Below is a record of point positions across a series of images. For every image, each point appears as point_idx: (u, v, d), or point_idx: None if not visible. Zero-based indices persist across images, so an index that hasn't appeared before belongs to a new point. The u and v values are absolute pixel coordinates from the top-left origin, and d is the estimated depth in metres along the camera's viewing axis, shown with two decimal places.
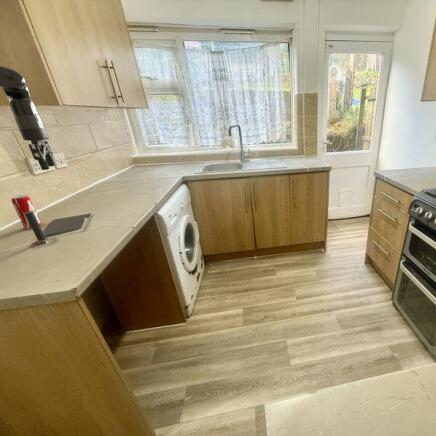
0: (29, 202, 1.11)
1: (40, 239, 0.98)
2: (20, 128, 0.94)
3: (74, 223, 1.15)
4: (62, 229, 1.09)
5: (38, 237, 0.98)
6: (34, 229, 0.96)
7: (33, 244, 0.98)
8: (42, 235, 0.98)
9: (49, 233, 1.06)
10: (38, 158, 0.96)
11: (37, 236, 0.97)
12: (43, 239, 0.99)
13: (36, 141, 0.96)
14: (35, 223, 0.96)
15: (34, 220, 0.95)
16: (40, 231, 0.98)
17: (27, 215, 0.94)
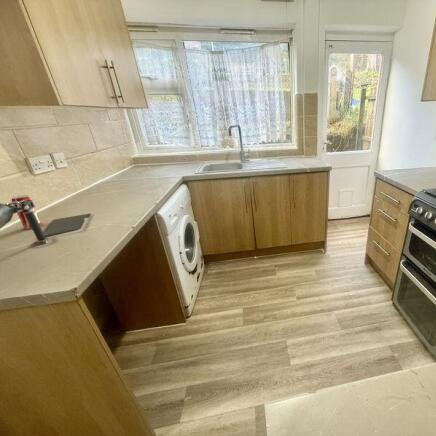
0: None
1: (40, 239, 0.98)
2: None
3: (74, 223, 1.15)
4: (62, 229, 1.09)
5: (38, 237, 0.98)
6: (34, 229, 0.96)
7: (33, 244, 0.98)
8: (42, 235, 0.98)
9: (49, 233, 1.06)
10: None
11: (37, 236, 0.97)
12: (43, 239, 0.99)
13: None
14: (35, 223, 0.96)
15: (34, 220, 0.95)
16: (40, 231, 0.98)
17: (27, 215, 0.94)
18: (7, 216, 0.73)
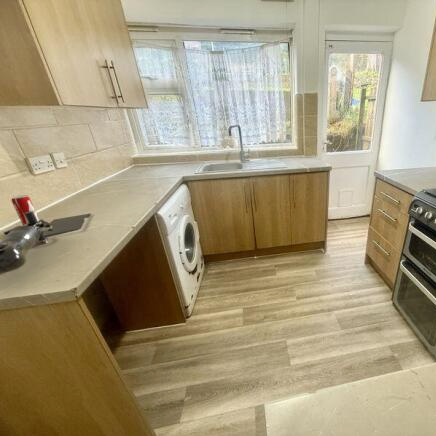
0: (29, 202, 1.11)
1: (40, 239, 0.98)
2: (7, 235, 0.83)
3: (74, 223, 1.15)
4: (62, 229, 1.09)
5: None
6: None
7: None
8: (42, 235, 0.98)
9: (49, 233, 1.06)
10: None
11: None
12: (43, 239, 0.99)
13: None
14: (35, 223, 0.96)
15: (34, 220, 0.95)
16: None
17: (27, 215, 0.94)
18: (36, 237, 0.88)
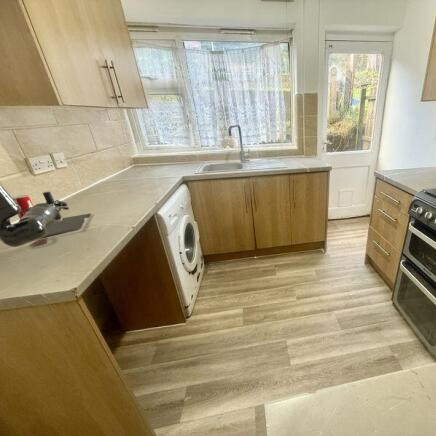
0: (29, 202, 1.11)
1: (56, 218, 1.05)
2: None
3: (74, 223, 1.15)
4: (62, 229, 1.09)
5: None
6: None
7: (33, 244, 0.98)
8: (58, 214, 1.05)
9: (49, 233, 1.06)
10: None
11: None
12: (59, 218, 1.05)
13: None
14: None
15: (51, 200, 1.02)
16: None
17: (45, 195, 1.00)
18: (54, 214, 0.94)
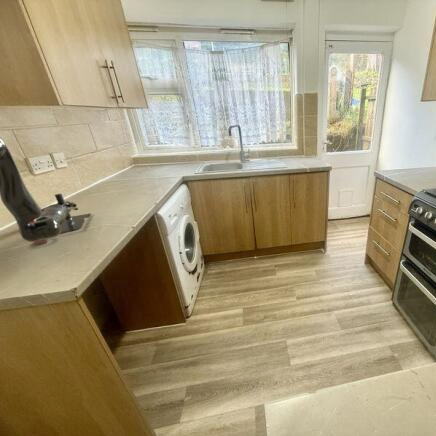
0: None
1: (67, 217, 1.16)
2: None
3: (74, 223, 1.15)
4: (62, 229, 1.09)
5: None
6: None
7: (33, 244, 0.98)
8: (68, 214, 1.16)
9: None
10: None
11: None
12: (69, 217, 1.16)
13: None
14: None
15: (62, 201, 1.13)
16: None
17: (57, 196, 1.11)
18: (66, 214, 1.05)
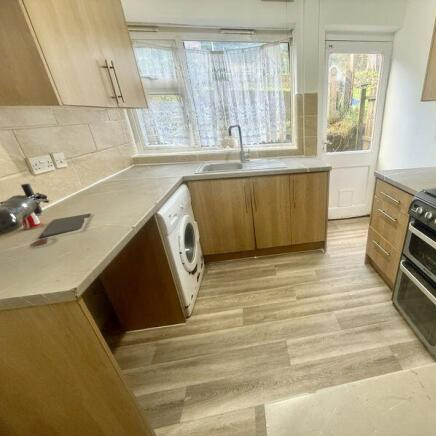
0: None
1: (37, 212, 0.98)
2: None
3: (74, 223, 1.15)
4: (62, 229, 1.09)
5: (35, 210, 0.98)
6: None
7: (33, 244, 0.98)
8: (39, 208, 0.99)
9: (49, 233, 1.06)
10: None
11: None
12: (40, 212, 0.99)
13: None
14: None
15: (30, 193, 0.96)
16: None
17: (24, 187, 0.94)
18: (32, 207, 0.88)
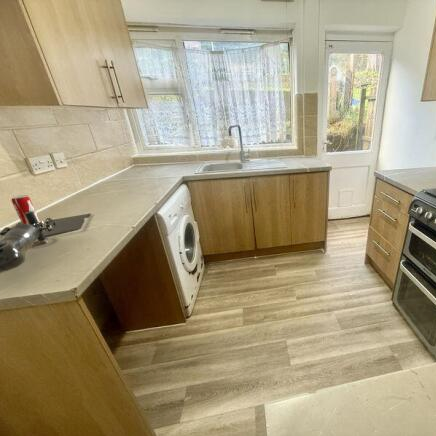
0: (29, 202, 1.11)
1: (40, 239, 0.98)
2: (6, 233, 0.83)
3: (74, 223, 1.15)
4: (62, 229, 1.09)
5: (38, 237, 0.98)
6: None
7: (33, 244, 0.98)
8: (42, 235, 0.98)
9: (49, 233, 1.06)
10: None
11: None
12: (43, 239, 0.99)
13: None
14: None
15: (34, 220, 0.95)
16: None
17: (27, 215, 0.94)
18: (35, 236, 0.87)
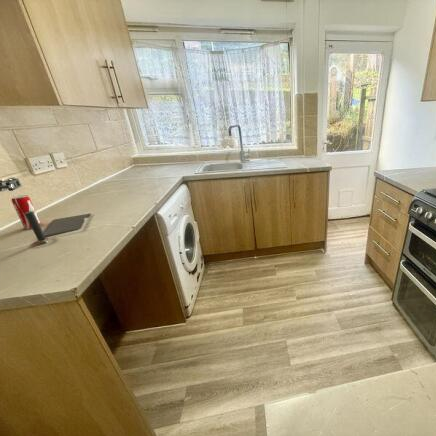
0: (29, 202, 1.11)
1: (40, 239, 0.98)
2: None
3: (74, 223, 1.15)
4: (62, 229, 1.09)
5: (38, 237, 0.98)
6: (34, 229, 0.96)
7: (33, 244, 0.98)
8: (42, 235, 0.98)
9: (49, 233, 1.06)
10: None
11: (37, 236, 0.97)
12: (43, 239, 0.99)
13: None
14: (35, 223, 0.96)
15: (34, 220, 0.95)
16: (40, 231, 0.98)
17: (27, 215, 0.94)
18: None
